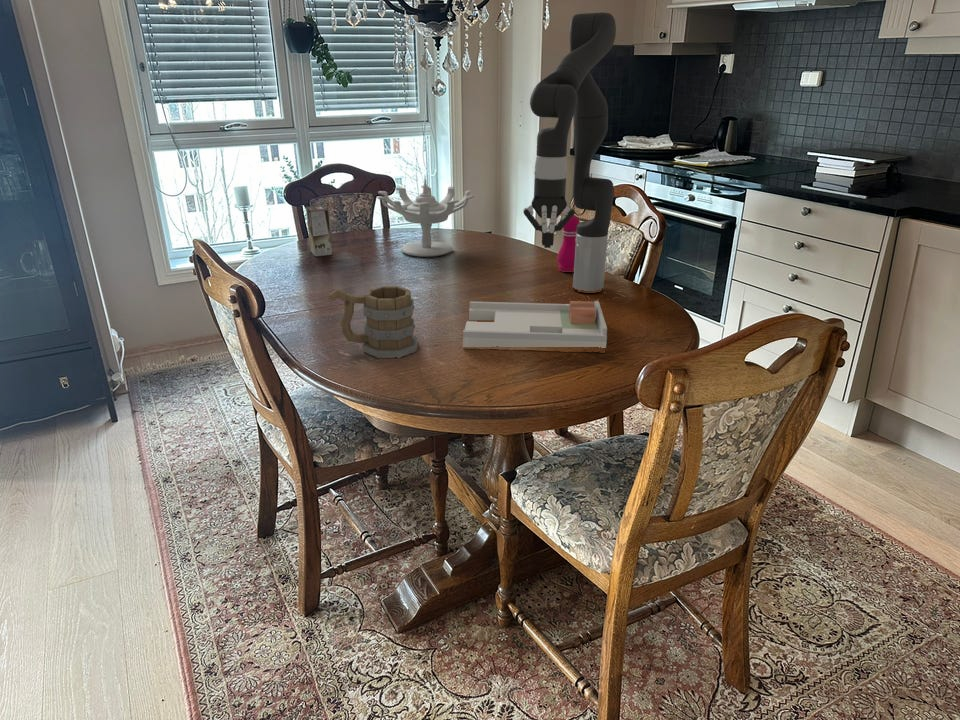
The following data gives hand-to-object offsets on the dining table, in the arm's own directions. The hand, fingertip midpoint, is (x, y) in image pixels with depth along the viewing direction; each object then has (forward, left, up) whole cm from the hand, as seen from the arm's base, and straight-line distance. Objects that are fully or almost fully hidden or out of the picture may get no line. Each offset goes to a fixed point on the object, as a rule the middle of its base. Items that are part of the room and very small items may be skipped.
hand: (547, 247), depth 163 cm
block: (+2, +10, -18) cm, 21 cm away
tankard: (+17, -41, -22) cm, 49 cm away
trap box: (+5, -3, -21) cm, 22 cm away
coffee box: (-68, -79, -22) cm, 106 cm away
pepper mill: (-53, +9, -22) cm, 58 cm away
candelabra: (-73, -41, -22) cm, 86 cm away
